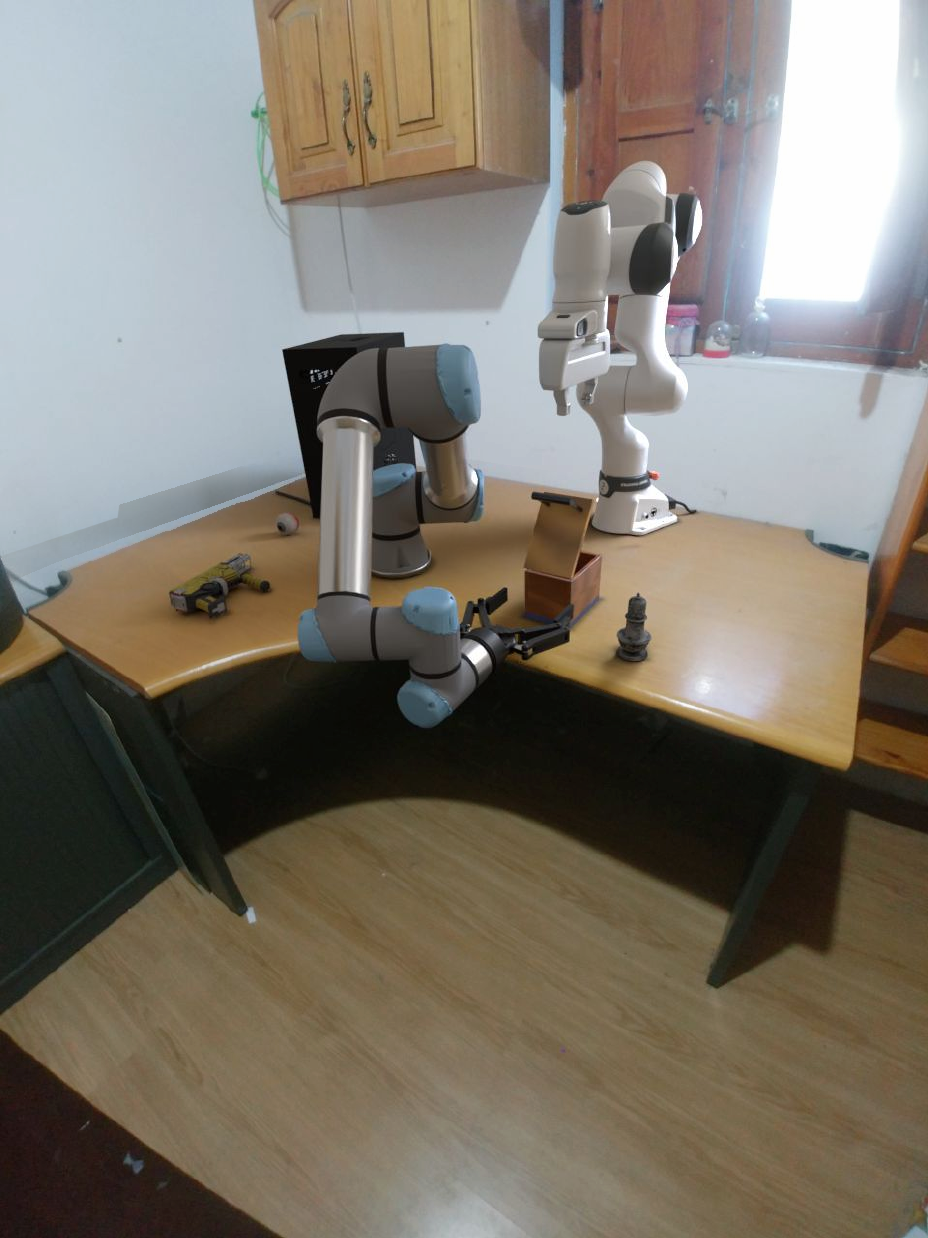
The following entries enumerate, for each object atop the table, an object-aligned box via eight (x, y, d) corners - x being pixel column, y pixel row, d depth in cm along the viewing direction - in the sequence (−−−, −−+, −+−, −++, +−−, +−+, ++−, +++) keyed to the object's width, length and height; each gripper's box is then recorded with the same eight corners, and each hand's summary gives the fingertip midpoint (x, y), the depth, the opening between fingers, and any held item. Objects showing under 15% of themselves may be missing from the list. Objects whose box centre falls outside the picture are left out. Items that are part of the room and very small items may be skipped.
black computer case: (378, 519, 171) (356, 347, 149) (313, 517, 176) (282, 349, 153) (417, 479, 203) (403, 331, 180) (361, 478, 207) (341, 334, 185)
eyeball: (273, 537, 164) (268, 516, 161) (287, 528, 169) (282, 508, 166) (291, 539, 161) (286, 518, 158) (305, 530, 166) (301, 510, 163)
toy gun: (291, 561, 141) (237, 550, 145) (223, 605, 121) (163, 591, 125) (293, 579, 143) (240, 568, 147) (226, 625, 123) (167, 611, 127)
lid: (546, 493, 114) (529, 480, 107) (594, 500, 109) (579, 488, 102) (525, 568, 115) (507, 561, 108) (572, 579, 110) (556, 572, 103)
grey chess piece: (650, 663, 103) (658, 601, 97) (615, 660, 105) (620, 600, 99) (648, 644, 108) (655, 585, 102) (614, 642, 110) (620, 583, 104)
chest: (556, 588, 129) (557, 545, 124) (599, 599, 124) (602, 554, 119) (524, 616, 120) (524, 570, 115) (569, 629, 115) (571, 582, 110)
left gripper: (414, 656, 104) (481, 604, 119) (543, 701, 91) (600, 637, 106) (410, 618, 100) (479, 569, 115) (544, 660, 87) (603, 599, 102)
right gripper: (588, 315, 107) (584, 397, 114) (531, 327, 92) (531, 419, 99) (622, 315, 104) (615, 399, 110) (569, 327, 89) (566, 423, 96)
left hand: (537, 602), depth 111 cm, fingers open, 13 cm apart
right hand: (575, 409), depth 105 cm, fingers open, 8 cm apart
